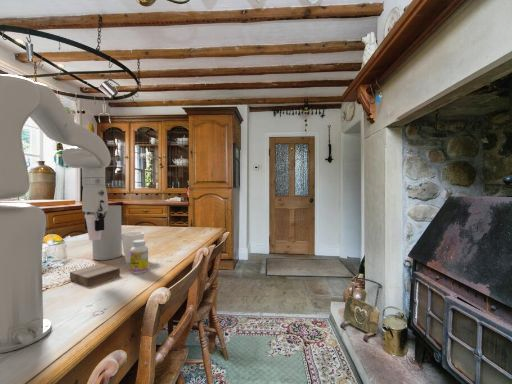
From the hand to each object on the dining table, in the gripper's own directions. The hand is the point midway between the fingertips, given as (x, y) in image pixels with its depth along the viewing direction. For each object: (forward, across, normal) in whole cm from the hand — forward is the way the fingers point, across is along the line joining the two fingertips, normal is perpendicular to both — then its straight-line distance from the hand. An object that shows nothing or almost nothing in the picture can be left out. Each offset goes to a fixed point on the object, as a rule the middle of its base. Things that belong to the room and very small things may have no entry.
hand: (94, 229), depth 99 cm
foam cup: (+19, +7, -21) cm, 29 cm away
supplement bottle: (+19, -8, -13) cm, 25 cm away
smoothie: (+4, 0, 0) cm, 4 cm away
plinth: (+19, 0, 0) cm, 19 cm away
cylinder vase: (+19, +24, -19) cm, 36 cm away
